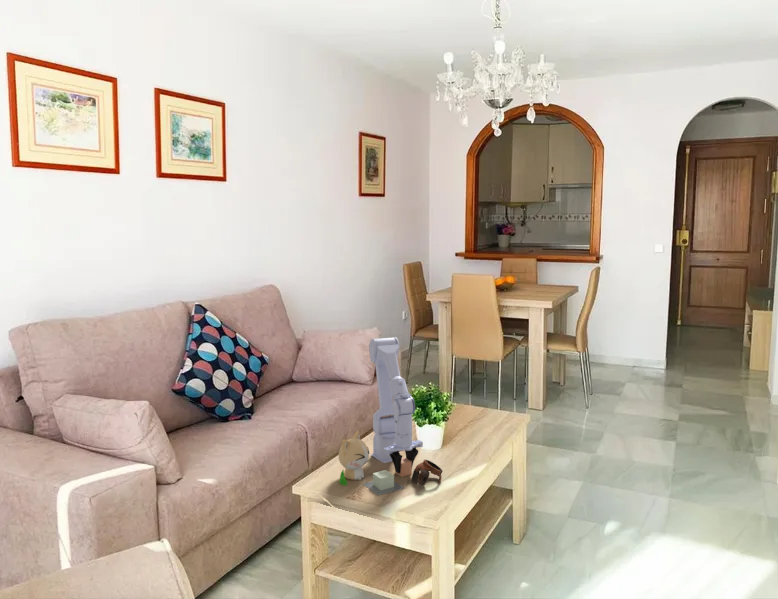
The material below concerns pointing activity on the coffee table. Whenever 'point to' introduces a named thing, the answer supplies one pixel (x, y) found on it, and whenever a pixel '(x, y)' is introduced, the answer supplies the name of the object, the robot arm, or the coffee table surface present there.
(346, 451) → the kitten
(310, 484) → the coffee table surface
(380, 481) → the brick
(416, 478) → the brown ring with handle
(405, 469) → the brick
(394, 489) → the plate
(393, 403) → the robot arm
